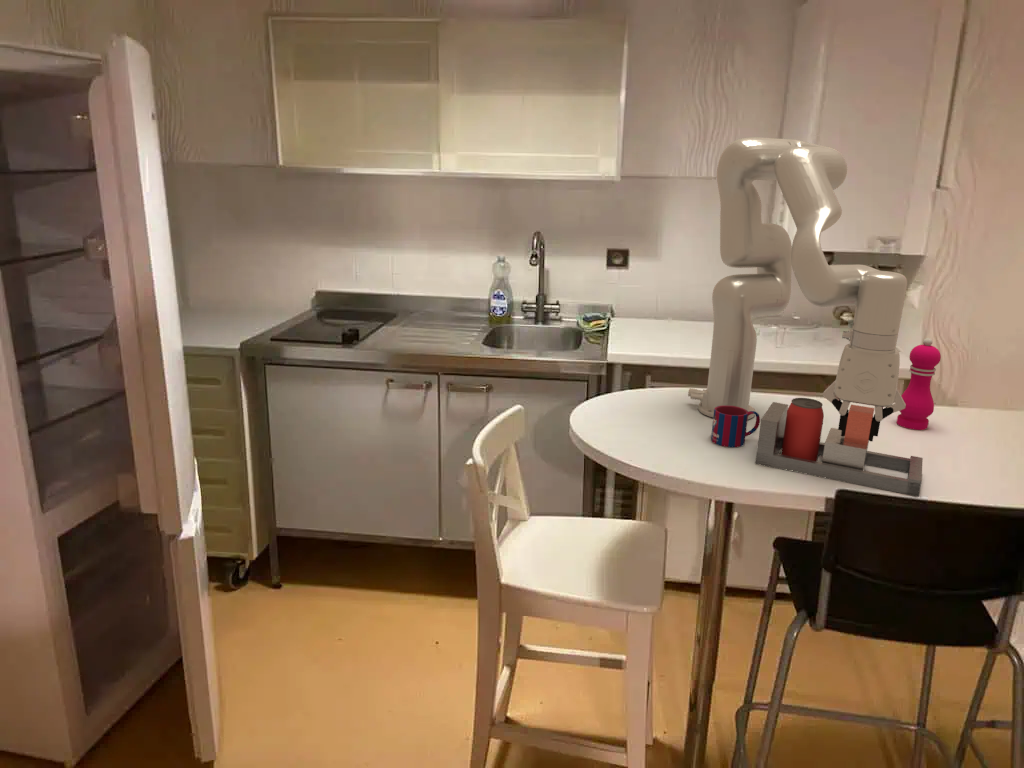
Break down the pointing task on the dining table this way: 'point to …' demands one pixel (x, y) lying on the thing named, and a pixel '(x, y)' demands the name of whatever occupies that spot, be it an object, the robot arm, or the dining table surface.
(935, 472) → the dining table surface
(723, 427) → the mug
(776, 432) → the press frame
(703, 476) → the dining table surface
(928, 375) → the pepper mill
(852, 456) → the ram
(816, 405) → the beer can
